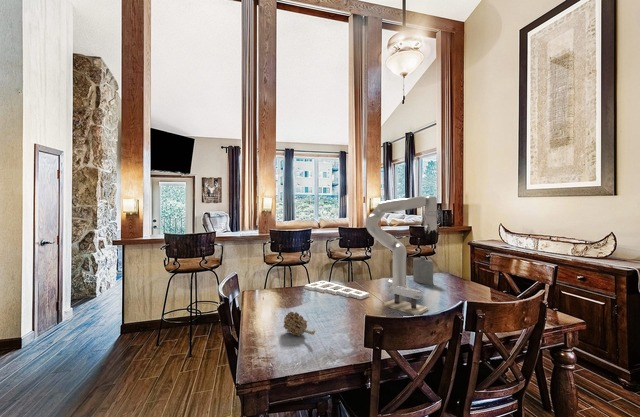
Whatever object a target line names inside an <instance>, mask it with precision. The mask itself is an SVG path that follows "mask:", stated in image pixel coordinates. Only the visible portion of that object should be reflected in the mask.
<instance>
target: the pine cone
mask: <svg viewBox="0 0 640 417" xmlns="http://www.w3.org/2000/svg"><path fill="white" fill-rule="evenodd" d="M283 323H284V324H283V328H284V329H285V330H286V332H287V333H289V334H292V335H293V336H297V337H301V336H302V334H303V335H304V333H306V334H309V335H312V336H313V335H315V333H316V330H315V329H314V330H309V329H307V328H308V320H306V319H305V318H304V316H302V315H300V314H299V312H294V311H289V312H287V314H285V317H284V318H283Z"/></svg>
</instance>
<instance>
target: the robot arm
mask: <svg viewBox="0 0 640 417" xmlns="http://www.w3.org/2000/svg"><path fill="white" fill-rule="evenodd" d="M423 207H425V211H424V212H425V217H424V233H425V234H424V235H425V236H424V237H425V238H424V239H425V240H431V238H433V239H437V237H438V236H437V234H438V233H437V232H438V221H437V215H438V212H437V211H438V198H437V196H433V195H432V196H421V195H419V196H415V197H408V198H397V199H391V200H386V201H385V200H383V201H379V203H377V205H376V206H375V208H374V209H373V210H372V212H371V213H370V214H369V215H368V216H367V218H366V222H365V227H366V230H367V232H368V234H370V236H372V237H373V238H374V239H375V240H376V241H377V242H379V243H380V244H381V245H382V246H383V247H385V248H388V249H389V250H390V251H391V252H392V280H391V279H389V280H388V284H391V285H390V286H392V285H397V286H402V287H406V288H410V287H409V286H408V285H407V255H408V254H407V248H406V246H405V245H404V243H402V242H401V241H400V240H399V239H398V238H396V237H395V236H394V235H393V234H391V233H388V232H386V231H385V230H384V229H382V227H380V226H379V222H380V221H381V219H382V218H383V217H384V216H385V215H386V214H387V213H394V212H395V213H396V212H400V211H401V212H402V211H405V210H412V209H419V208H423ZM431 231H432V232H431Z"/></svg>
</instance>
